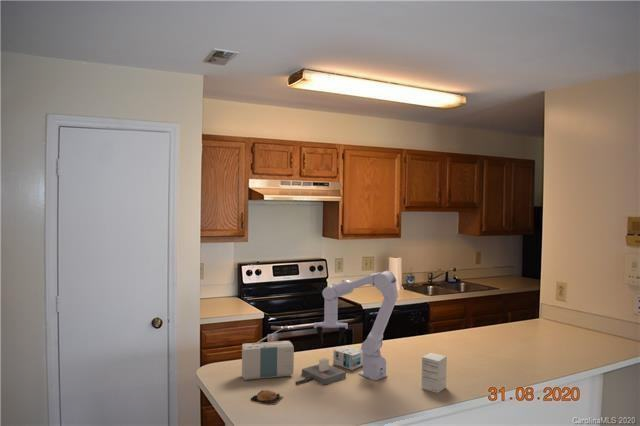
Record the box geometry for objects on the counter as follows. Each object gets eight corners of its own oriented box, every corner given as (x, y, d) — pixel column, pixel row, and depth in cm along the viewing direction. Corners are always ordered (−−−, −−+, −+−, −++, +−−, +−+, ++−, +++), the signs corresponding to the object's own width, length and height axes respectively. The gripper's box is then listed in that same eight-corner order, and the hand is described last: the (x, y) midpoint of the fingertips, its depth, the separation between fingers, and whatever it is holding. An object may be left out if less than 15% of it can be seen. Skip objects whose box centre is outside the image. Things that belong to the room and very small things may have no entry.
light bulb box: (332, 364, 216) (351, 370, 209) (333, 349, 216) (352, 355, 209) (347, 358, 224) (366, 364, 217) (347, 344, 224) (367, 349, 217)
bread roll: (284, 398, 181) (285, 388, 181) (274, 407, 173) (275, 397, 173) (259, 393, 185) (259, 384, 185) (248, 402, 177) (248, 392, 177)
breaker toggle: (328, 369, 202) (328, 359, 202) (322, 371, 200) (322, 360, 200) (325, 368, 204) (325, 357, 203) (319, 370, 201) (319, 359, 201)
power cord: (312, 380, 197) (312, 377, 197) (297, 385, 192) (297, 382, 192) (311, 379, 198) (311, 376, 198) (295, 384, 193) (295, 381, 193)
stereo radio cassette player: (242, 382, 195) (243, 332, 194) (240, 374, 203) (241, 327, 202) (293, 377, 200) (294, 329, 200) (289, 370, 208) (290, 324, 208)
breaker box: (345, 378, 200) (345, 372, 200) (323, 385, 193) (323, 378, 193) (323, 368, 211) (323, 362, 211) (301, 374, 203) (301, 368, 203)
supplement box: (429, 383, 196) (430, 352, 196) (446, 387, 192) (447, 356, 191) (420, 388, 191) (421, 356, 190) (438, 393, 186) (439, 360, 186)
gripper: (347, 311, 216) (347, 341, 216) (314, 310, 216) (314, 341, 217) (347, 315, 208) (347, 346, 209) (313, 314, 209) (313, 346, 210)
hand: (330, 344), depth 212 cm, fingers open, 7 cm apart
